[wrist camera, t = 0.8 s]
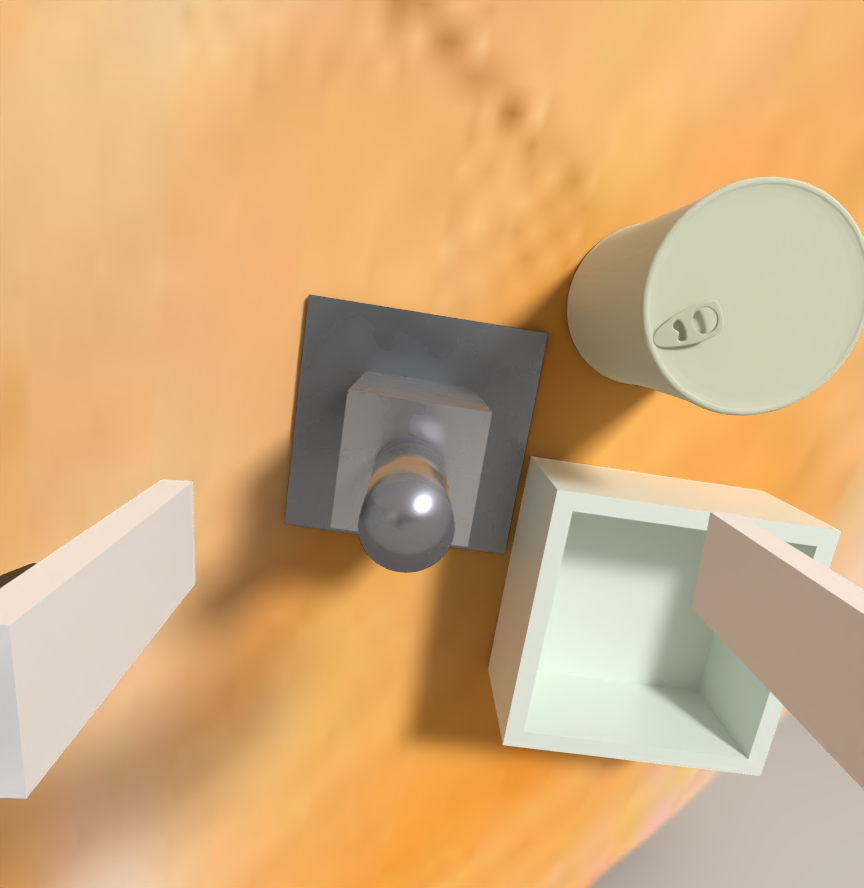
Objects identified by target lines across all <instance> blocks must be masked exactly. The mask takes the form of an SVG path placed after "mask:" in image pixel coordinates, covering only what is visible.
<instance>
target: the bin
mask: <svg viewBox="0 0 864 888" xmlns="http://www.w3.org/2000/svg"><path fill="white" fill-rule="evenodd" d="M710 512H719V513H736V514H740V515H742V516H744V517H745V518H747V519H748V520H750V521H752V522H753V523H755V524H757V525H758V526H760V527H762V528H763V529H765V530H766V531H768V532H770V533H771V534H773V535H775V536H776V537H778V538H780V539H781V540H783V541H784V542H786V543H788V544H789V545H791V546H793V547H794V548H796V549H797V550H799V551H801V552H802V553H804V554H806V555H807V556H809V557H811V558H812V559H814V560H815V561H817V562H819V563H820V564H822V565H824V566H825V567H827V568H829V567H830V564H831V561H832V558H833V555H834V552H835V549H836V546H837V543H838V540H839V537H840V534H841V531H840V530H838V529H836V528H834V527H832V526H830V525H828V524H826V523H825V522H823V521H821V520H819V519H817V518H815V517H813V516H811V515H809V514H807V513H805V512H803V511H801V510H799V509H797V508H795V507H793V506H791V505H789V504H787V503H785V502H783V501H781V500H779V499H777V498H775V497H774V496H772V495H770V494H768V493H766V492H764V491H762V490H755V489H748V488H742V487H735V486H728V485H722V484H715V483H708V482H701V481H695V480H688V479H681V478H675V477H668V476H661V475H654V474H648V473H641V472H634V471H628V470H621V469H614V468H608V467H601V466H594V465H587V464H581V463H574V462H567V461H561V460H554V459H547V458H540V457H534V456H531V457H530V462H529V467H528V472H527V477H526V482H525V487H524V492H523V497H522V502H521V507H520V512H519V517H518V522H517V527H516V532H515V537H514V542H513V547H512V551H511V556H510V561H509V566H508V571H507V576H506V581H505V586H504V591H503V596H502V601H501V606H500V611H499V616H498V621H497V626H496V631H495V636H494V641H493V646H492V651H491V656H490V661H489V666H488V672H489V677H490V682H491V687H492V692H493V698H494V703H495V708H496V713H497V718H498V723H499V728H500V733H501V738H502V744H503V745H507V746H515V747H523V748H532V749H540V750H548V751H557V752H565V753H573V754H582V755H590V756H598V757H607V758H615V759H624V760H632V761H640V762H649V763H657V764H665V765H674V766H682V767H690V768H699V769H707V770H715V771H724V772H732V773H740V774H749V775H757V776H760V775H761V772H762V769H763V766H764V763H765V760H766V757H767V754H768V751H769V748H770V745H771V742H772V739H773V736H774V733H775V730H776V727H777V724H778V721H779V718H780V715H781V712H782V709H783V706H784V705H783V704H782V703H781V702H780V701H779V700H778V699H777V698H776V697H775V696H774V695H773V694H772V693H771V692H770V691H769V690H768V689H767V688H766V686H765V685H764V684H763V683H762V682H761V681H760V680H759V679H758V678H757V677H756V676H755V675H754V674H753V673H752V672H751V671H750V670H749V669H748V668H747V666H746V665H745V664H744V663H743V662H742V661H741V660H740V659H739V658H738V657H737V656H736V655H735V654H734V653H733V652H732V651H731V650H730V649H729V648H728V646H727V645H726V644H725V643H724V642H723V641H722V640H721V639H720V638H719V637H718V636H717V635H716V634H715V633H714V632H713V631H712V630H711V629H710V628H709V626H708V625H707V624H706V623H705V622H704V621H703V620H702V619H701V618H700V617H699V616H698V615H697V614H696V613H695V612H694V611H693V610H692V604H693V599H694V594H695V589H696V583H697V578H698V573H699V568H700V563H701V558H702V553H703V547H704V542H705V537H706V532H707V527H708V522H709V516H710Z"/></svg>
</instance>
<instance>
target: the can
mask: <svg viewBox="0 0 864 888" xmlns="http://www.w3.org/2000/svg"><path fill="white" fill-rule="evenodd" d="M567 320H568V326H569V330H570V334H571V337H572V340H573V342H574V344H575V346H576V348H577V350H578V351H579V353H580V355H581V356H582V357H583V358H584V360H585V361H586V362H587V363H588V364H589V365H590V366H591V367H592V368H593V369H595V370H596V371H597V372H599V373H600V374H602V375H603V376H605V377H607V378H609V379H612V380H614V381H617V382H621V383H625V384H632V385H640V386H644V387H647V388H651V389H654V390H657V391H660V392H663V393H666V394H669V395H672V396H675V397H678V398H681V399H684V400H687V401H689V402H691V403H693V404H695V405H697V406H699V407H702V408H704V409H707V410H709V411H713V412H717V413H721V414H727V415H755V414H763V413H767V412H772V411H775V410H778V409H781V408H784V407H786V406H789V405H791V404H793V403H795V402H797V401H799V400H801V399H803V398H804V397H806V396H808V395H809V394H811V393H812V392H814V391H815V390H816V389H818V388H819V387H820V386H822V385H823V384H824V383H825V382H826V381H827V380H828V379H829V378H830V377H831V376H832V375H833V374H834V373H835V372H836V371H837V370H838V369H839V368H840V366H841V365H842V364H843V363H844V361H845V360H846V359H847V357H848V356H849V354H850V352H851V351H852V349H853V348H854V346H855V344H856V342H857V340H858V338H859V336H860V334H861V331H862V329H863V326H864V238H863V236H862V234H861V232H860V230H859V228H858V226H857V224H856V223H855V221H854V220H853V218H852V217H851V215H850V214H849V213H848V212H847V210H846V209H845V208H844V207H843V206H842V205H841V204H840V203H839V202H838V201H837V200H835V199H834V198H833V197H831V196H830V195H829V194H827V193H826V192H824V191H822V190H821V189H819V188H817V187H815V186H812V185H810V184H808V183H805V182H802V181H798V180H794V179H789V178H783V177H759V178H751V179H746V180H742V181H738V182H735V183H732V184H729V185H727V186H724V187H722V188H720V189H717V190H715V191H713V192H711V193H710V194H708V195H706V196H705V197H703V198H702V199H700V200H698V201H695V202H693V203H691V204H689V205H686V206H684V207H682V208H679V209H677V210H675V211H672V212H670V213H667V214H665V215H663V216H660V217H658V218H655V219H653V220H650V221H648V222H645V223H639V224H634V225H631V226H627V227H624V228H622V229H620V230H618V231H616V232H613V233H612V234H610V235H609V236H607V237H605V238H604V239H603V240H601V241H600V242H599V243H598V244H597V245H596V246H595V247H594V248H593V249H592V250H591V251H590V252H589V253H588V254H587V255H586V257H585V258H584V259H583V261H582V262H581V264H580V265H579V267H578V269H577V271H576V273H575V275H574V278H573V280H572V283H571V286H570V290H569V294H568V301H567Z"/></svg>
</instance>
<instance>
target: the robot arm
mask: <svg viewBox="0 0 864 888" xmlns="http://www.w3.org/2000/svg"><path fill="white" fill-rule="evenodd" d="M194 585H195V542H194V490H193V481H181V480H165V479H161V480H160V481H158V482H157V483H155V484H154V485H152V486H151V487H149V488H148V489H146V490H145V491H144V492H142V493H141V494H139V495H138V496H136V497H135V498H133V499H132V500H130V501H129V502H127V503H126V504H124V505H123V506H121V507H120V508H118V509H117V510H115V511H114V512H112V513H111V514H110V515H108V516H107V517H105V518H104V519H102V520H101V521H99V522H98V523H96V524H95V525H93V526H92V527H90V528H89V529H87V530H86V531H84V532H83V533H81V534H80V535H78V536H77V537H75V538H74V539H73V540H71V541H70V542H68V543H67V544H65V545H64V546H62V547H61V548H59V549H58V550H56V551H55V552H53V553H52V554H50V555H49V556H47V557H46V558H44V559H43V560H41V561H40V562H39V563H32V564H29V565H26V566H24V567H21V568H19V569H16V570H14V571H11V572H8V573H6V574H3V575H1V576H0V798H24V799H27V797H28V796H29V795H30V794H31V792H32V791H33V790H34V788H35V787H36V786H37V785H38V783H39V782H40V781H41V780H42V778H43V777H44V776H45V774H46V773H47V772H48V771H49V769H50V768H51V767H52V766H53V764H54V763H55V762H56V760H57V759H58V758H59V757H60V755H61V754H62V753H63V752H64V750H65V749H66V748H67V746H68V745H69V744H70V743H71V741H72V740H73V739H74V738H75V736H76V735H77V734H78V732H79V731H80V730H81V729H82V727H83V726H84V725H85V724H86V722H87V721H88V720H89V719H90V717H91V716H92V715H93V713H94V712H95V711H96V710H97V708H98V707H99V706H100V705H101V703H102V702H103V701H104V699H105V698H106V697H107V696H108V694H109V693H110V692H111V691H112V689H113V688H114V687H115V685H116V684H117V683H118V682H119V680H120V679H121V678H122V677H123V675H124V674H125V673H126V671H127V670H128V669H129V668H130V666H131V665H132V664H133V663H134V661H135V660H136V659H137V657H138V656H139V655H140V654H141V652H142V651H143V650H144V649H145V647H146V646H147V645H148V643H149V642H150V641H151V640H152V638H153V637H154V636H155V635H156V633H157V632H158V631H159V629H160V628H161V627H162V626H163V624H164V623H165V622H166V621H167V619H168V618H169V617H170V615H171V614H172V613H173V612H174V610H175V609H176V608H177V607H178V605H179V604H180V603H181V602H182V600H183V599H184V598H185V596H186V595H187V594H188V593H189V591H190V590H191V589H192V588H193V586H194ZM692 610H693V611H694V612H695V613H696V614H697V615H698V616H699V617H700V618H701V619H702V620H703V621H704V622H705V623H706V624H707V625H708V626H709V628H710V629H711V630H712V631H713V632H714V633H715V634H716V635H717V636H718V637H719V638H720V639H721V640H722V641H723V642H724V643H725V644H726V645H727V646H728V648H729V649H730V650H731V651H732V652H733V653H734V654H735V655H736V656H737V657H738V658H739V659H740V660H741V661H742V662H743V663H744V664H745V665H746V666H747V668H748V669H749V670H750V671H751V672H752V673H753V674H754V675H755V676H756V677H757V678H758V679H759V680H760V681H761V682H762V683H763V684H764V685H765V686H766V688H767V689H768V690H769V691H770V692H771V693H772V694H773V695H774V696H775V697H776V698H777V699H778V700H779V701H780V702H781V703H782V704H783V705H784V706H785V707H786V709H787V710H788V711H789V712H790V713H791V714H792V715H793V716H794V717H795V718H796V719H797V720H798V721H799V722H800V723H801V724H802V725H803V726H804V727H805V729H807V730H808V732H809V733H810V734H811V735H812V736H813V737H814V738H815V739H816V740H817V741H818V742H819V743H820V744H821V745H822V746H823V747H824V748H825V750H826V751H827V752H828V753H829V754H830V755H831V756H832V757H833V758H834V759H835V760H836V761H837V762H838V763H839V764H840V765H841V766H842V767H843V768H844V770H845V771H846V772H847V773H848V774H849V775H850V776H851V777H852V778H853V779H854V780H855V781H856V782H857V783H858V784H859V785H860V786H861V787H862V788H863V789H864V590H863V589H861V588H860V587H858V586H856V585H855V584H853V583H851V582H850V581H848V580H846V579H845V578H843V577H842V576H840V575H838V574H837V573H835V572H833V571H832V570H830V569H829V568H827V567H825V566H824V565H822V564H820V563H819V562H817V561H815V560H814V559H812V558H811V557H809V556H807V555H806V554H804V553H802V552H801V551H799V550H797V549H796V548H794V547H793V546H791V545H789V544H788V543H786V542H784V541H783V540H781V539H780V538H778V537H776V536H775V535H773V534H771V533H770V532H768V531H766V530H765V529H763V528H762V527H760V526H758V525H757V524H755V523H753V522H752V521H750V520H748V519H747V518H745V517H744V516H742V515H740V514H736V513H719V512H710V516H709V522H708V527H707V532H706V537H705V542H704V547H703V553H702V558H701V563H700V568H699V573H698V578H697V583H696V589H695V594H694V599H693V604H692Z"/></svg>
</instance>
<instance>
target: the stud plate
mask: <svg viewBox="0 0 864 888" xmlns="http://www.w3.org/2000/svg"><path fill="white" fill-rule="evenodd" d="M547 337H548V333H544V332H537V331H531V330H525V329H519V328H513V327H506V326H500V325H494V324H488V323H482V322H476V321H469V320H463V319H457V318H451V317H445V316H438V315H432V314H426V313H420V312H414V311H408V310H401V309H395V308H389V307H383V306H377V305H370V304H364V303H358V302H352V301H346V300H340V299H333V298H327V297H321V296H315V295H309V298H308V307H307V317H306V326H305V335H304V345H303V354H302V363H301V373H300V382H299V391H298V401H297V410H296V419H295V429H294V438H293V447H292V456H291V466H290V475H289V484H288V494H287V503H286V512H285V522H284V524H289V525H297V526H304V527H311V528H318V529H325V530H333V531H340V532H347V533H354V534H358V532H357V531H350V530H343V529H336V528H330V527H331V519H332V512H333V504H334V496H335V488H336V480H337V472H338V464H339V456H340V448H341V440H342V432H343V424H344V416H345V408H346V400H347V393H348V390H349V389H350V388H351V386H352V385H353V384H354V383H355V382H356V381H357V380H358V379H359V378H360V377H361V376H362V375H363V374H364V373H365V372H366V371H371V372H377V373H383V374H390V375H396V376H403V377H409V378H416V379H422V380H429V381H435V382H441V383H448V384H454V385H461V386H467V387H473V388H474V389H475V390H476V392H477V393H478V394H479V396H480V397H481V398H482V400H483V401H484V402H485V404H486V405H487V406H488V408H489V409H490V410H491V412H492V417H491V422H490V428H489V433H488V438H487V444H486V449H485V455H484V460H483V466H482V471H481V477H480V482H479V488H478V493H477V499H476V504H475V510H474V515H473V521H472V526H471V532H470V537H469V543H468V547H465V546H458V545H451V546H450V547H455V548H462V549H470V550H477V551H484V552H491V553H498V554H505V549H506V544H507V539H508V534H509V529H510V524H511V519H512V514H513V509H514V504H515V499H516V494H517V489H518V484H519V479H520V474H521V469H522V464H523V459H524V453H525V448H526V443H527V438H528V433H529V428H530V423H531V418H532V413H533V408H534V403H535V398H536V393H537V388H538V383H539V378H540V373H541V368H542V363H543V358H544V352H545V347H546V342H547Z"/></svg>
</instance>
